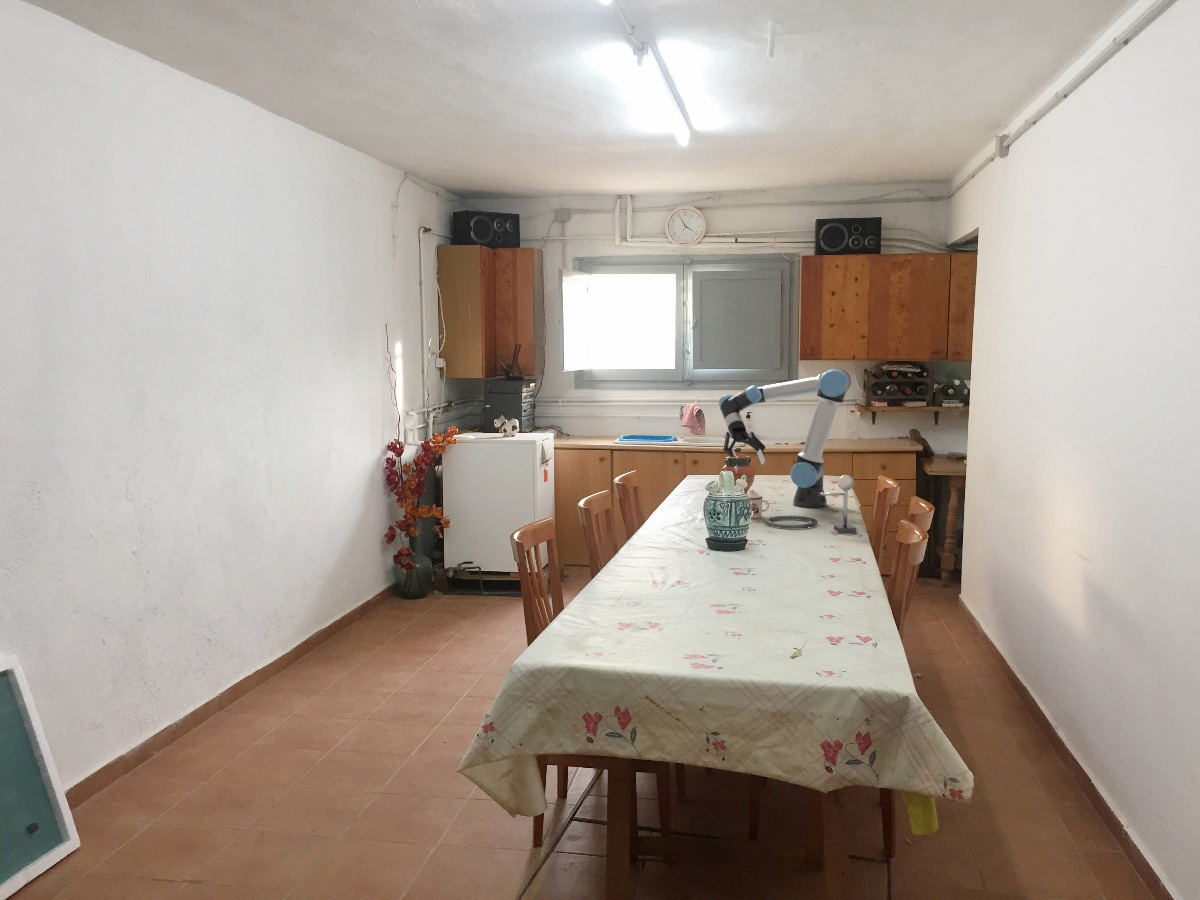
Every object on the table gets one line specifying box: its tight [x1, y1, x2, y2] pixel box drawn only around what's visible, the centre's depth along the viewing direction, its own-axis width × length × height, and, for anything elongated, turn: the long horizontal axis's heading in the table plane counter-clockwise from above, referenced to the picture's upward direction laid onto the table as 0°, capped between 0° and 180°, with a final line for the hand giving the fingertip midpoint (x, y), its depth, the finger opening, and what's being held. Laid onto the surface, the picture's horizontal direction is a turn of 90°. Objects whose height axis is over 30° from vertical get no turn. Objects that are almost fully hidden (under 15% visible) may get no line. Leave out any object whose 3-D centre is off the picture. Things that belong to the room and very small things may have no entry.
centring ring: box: [764, 515, 819, 529], centre depth 374 cm, size 21×21×2 cm
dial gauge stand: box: [819, 474, 857, 534], centre depth 357 cm, size 14×7×22 cm, turn 90°
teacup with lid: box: [746, 489, 770, 519], centre depth 390 cm, size 12×9×12 cm
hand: (750, 463), depth 396 cm, fingers open, 13 cm apart
